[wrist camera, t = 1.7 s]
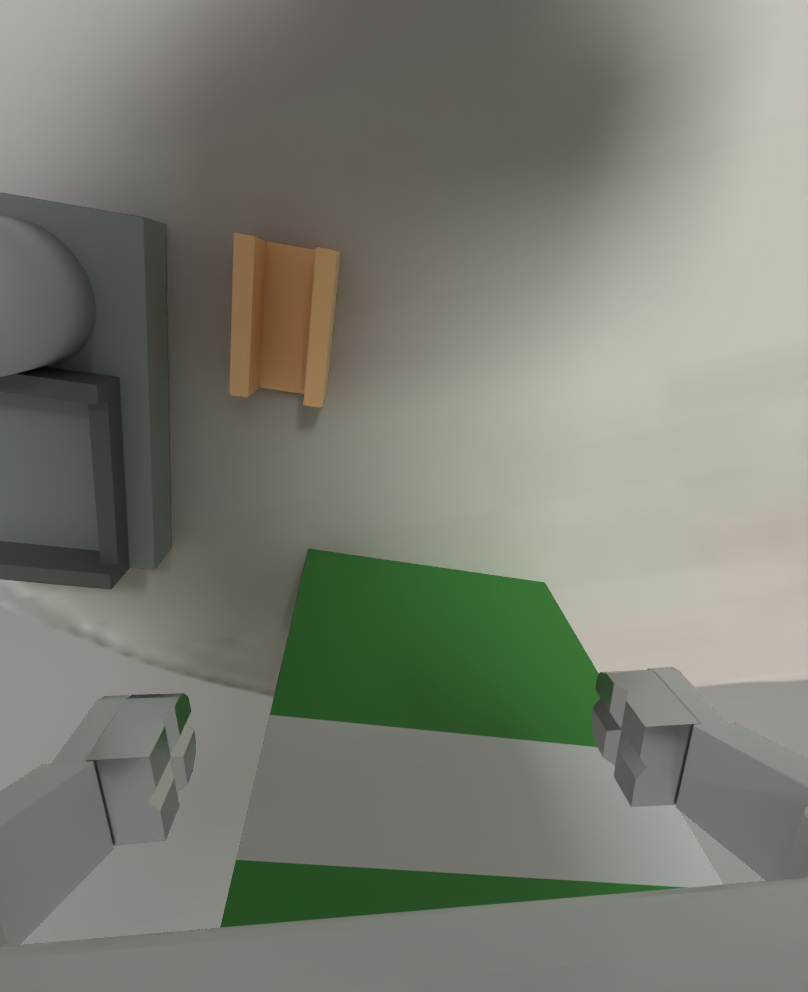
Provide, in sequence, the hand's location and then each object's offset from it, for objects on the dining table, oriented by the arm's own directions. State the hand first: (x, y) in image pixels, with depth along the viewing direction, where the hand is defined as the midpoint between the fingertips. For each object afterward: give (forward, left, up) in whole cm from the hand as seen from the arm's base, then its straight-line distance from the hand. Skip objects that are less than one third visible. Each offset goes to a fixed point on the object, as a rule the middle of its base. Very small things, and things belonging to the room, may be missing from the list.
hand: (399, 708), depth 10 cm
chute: (-5, -6, -25) cm, 26 cm away
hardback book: (+14, +5, -24) cm, 29 cm away
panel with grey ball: (+1, -19, -24) cm, 31 cm away
